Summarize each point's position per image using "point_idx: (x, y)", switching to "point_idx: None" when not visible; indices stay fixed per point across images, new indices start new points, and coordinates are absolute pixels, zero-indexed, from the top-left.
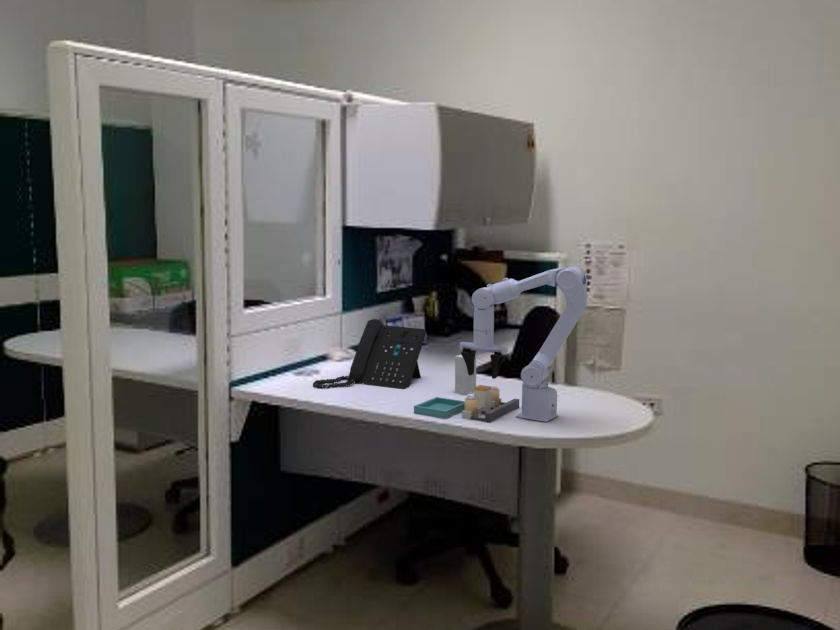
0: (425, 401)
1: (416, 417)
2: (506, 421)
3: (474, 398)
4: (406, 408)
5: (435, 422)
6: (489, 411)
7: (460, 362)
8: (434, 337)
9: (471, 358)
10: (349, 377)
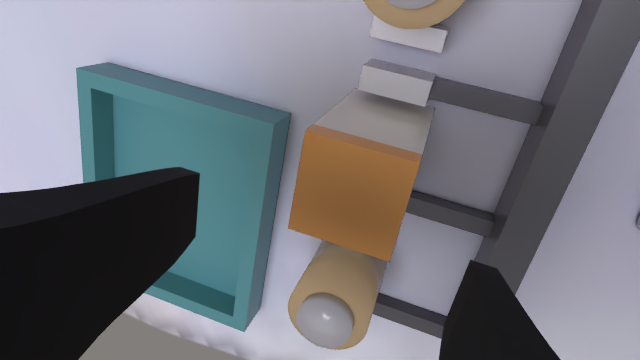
0: (84, 182)
1: (151, 304)
2: (570, 307)
3: (349, 335)
4: None
5: (242, 356)
6: None
7: None
8: None
9: (37, 328)
10: None
